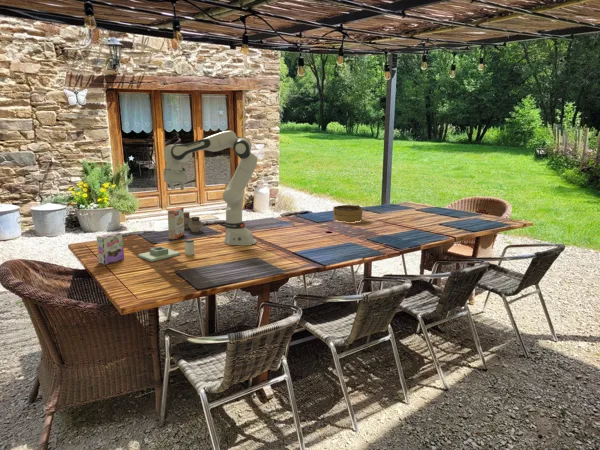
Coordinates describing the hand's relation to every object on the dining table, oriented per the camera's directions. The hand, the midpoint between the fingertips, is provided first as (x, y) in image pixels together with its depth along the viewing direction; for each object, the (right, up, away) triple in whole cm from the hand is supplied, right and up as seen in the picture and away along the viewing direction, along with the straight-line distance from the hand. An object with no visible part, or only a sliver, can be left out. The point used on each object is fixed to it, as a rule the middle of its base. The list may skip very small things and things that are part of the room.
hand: (177, 189), depth 310 cm
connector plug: (+12, -42, -16) cm, 46 cm away
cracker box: (-7, -33, +25) cm, 42 cm away
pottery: (-2, -27, +49) cm, 56 cm away
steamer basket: (+122, -20, +89) cm, 152 cm away
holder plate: (-6, -43, -21) cm, 48 cm away
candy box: (-31, -45, -33) cm, 64 cm away
